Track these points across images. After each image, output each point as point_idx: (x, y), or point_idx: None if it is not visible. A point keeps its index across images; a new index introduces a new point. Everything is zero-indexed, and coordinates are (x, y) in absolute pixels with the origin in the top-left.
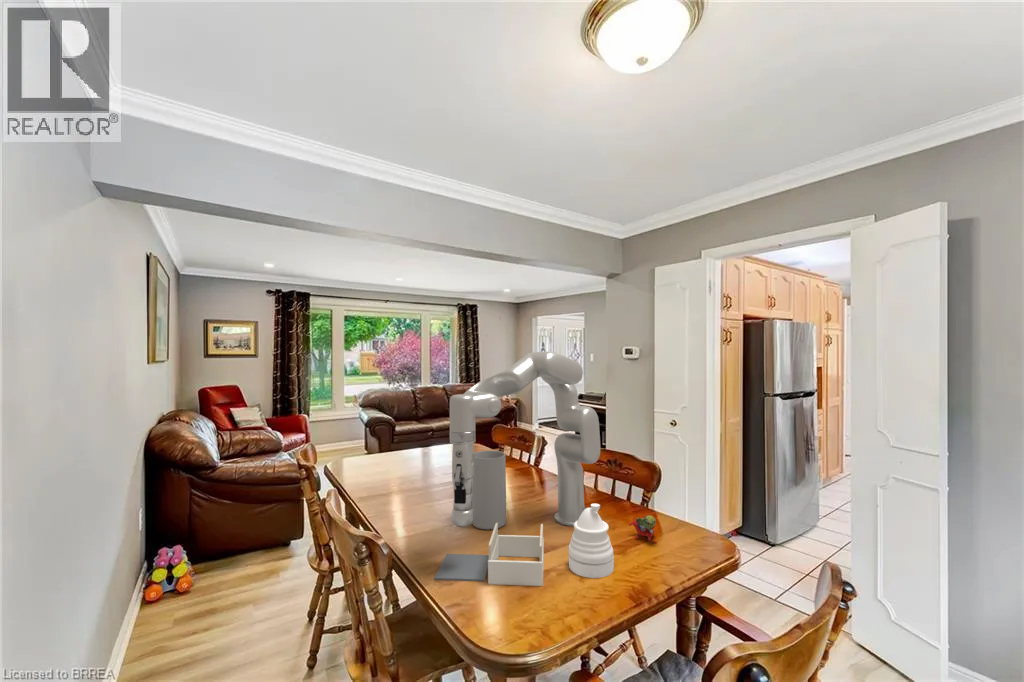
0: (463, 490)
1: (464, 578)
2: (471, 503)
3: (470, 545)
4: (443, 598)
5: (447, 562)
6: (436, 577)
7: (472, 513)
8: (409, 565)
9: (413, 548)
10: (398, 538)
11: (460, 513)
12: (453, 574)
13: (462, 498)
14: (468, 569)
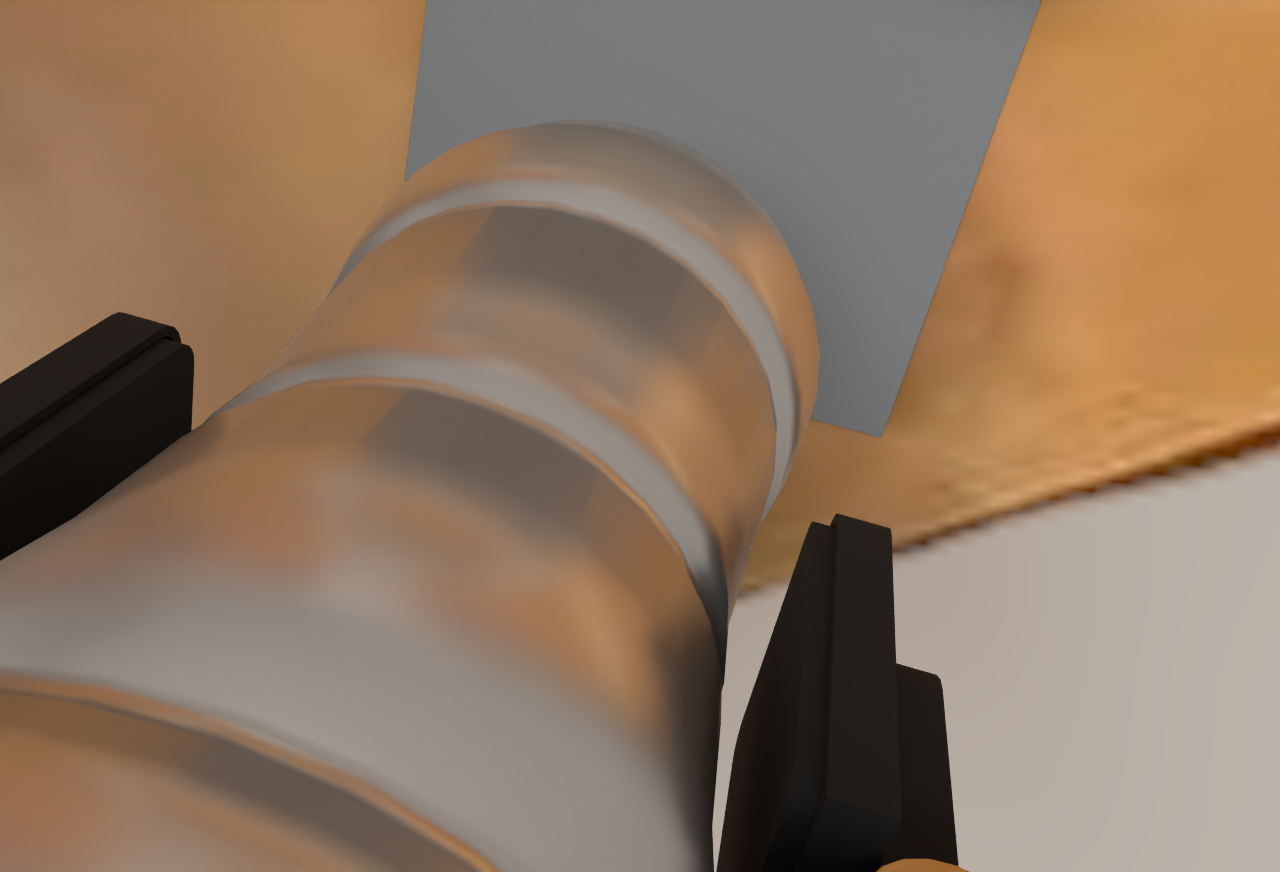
0: (877, 847)
1: (985, 134)
2: (596, 284)
3: (160, 15)
4: (1267, 355)
5: None
6: (880, 417)
7: (677, 191)
8: None
9: None
10: None
11: (777, 482)
12: (863, 250)
13: (905, 692)
14: (790, 76)
